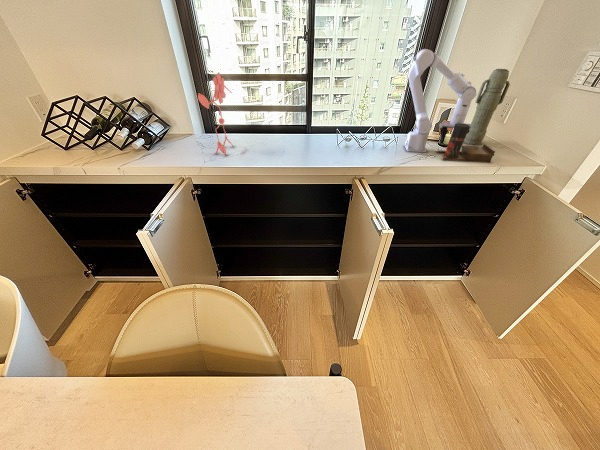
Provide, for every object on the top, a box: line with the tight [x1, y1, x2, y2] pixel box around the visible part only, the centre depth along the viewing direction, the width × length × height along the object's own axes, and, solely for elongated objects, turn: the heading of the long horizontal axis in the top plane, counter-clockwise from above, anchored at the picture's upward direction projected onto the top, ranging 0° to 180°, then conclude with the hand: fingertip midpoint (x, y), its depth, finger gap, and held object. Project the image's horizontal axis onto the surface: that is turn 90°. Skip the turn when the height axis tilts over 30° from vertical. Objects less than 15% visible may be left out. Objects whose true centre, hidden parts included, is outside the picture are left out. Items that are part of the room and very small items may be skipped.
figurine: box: [197, 72, 248, 159], centre depth 122 cm, size 15×26×35 cm, turn 172°
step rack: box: [436, 143, 496, 163], centre depth 124 cm, size 21×10×5 cm, turn 82°
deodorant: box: [443, 123, 469, 158], centre depth 122 cm, size 6×6×15 cm
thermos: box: [463, 68, 511, 146], centre depth 132 cm, size 9×12×35 cm
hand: (449, 142), depth 129 cm, fingers open, 7 cm apart
